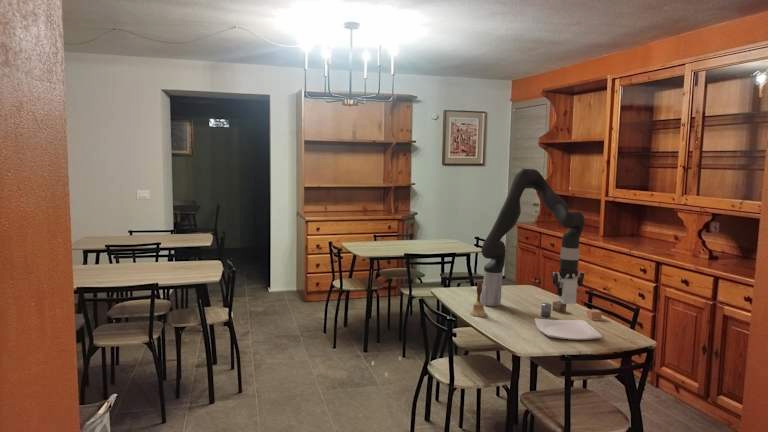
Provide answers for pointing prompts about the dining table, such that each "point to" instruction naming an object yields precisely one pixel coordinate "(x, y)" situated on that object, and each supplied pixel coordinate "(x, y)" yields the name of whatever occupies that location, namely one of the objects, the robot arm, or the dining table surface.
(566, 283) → the small box
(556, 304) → the walnut block
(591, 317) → the terracotta block
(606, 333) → the dining table surface
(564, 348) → the dining table surface
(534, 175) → the robot arm
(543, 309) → the slate grey cylinder
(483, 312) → the hand bell
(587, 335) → the plate
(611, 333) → the dining table surface
